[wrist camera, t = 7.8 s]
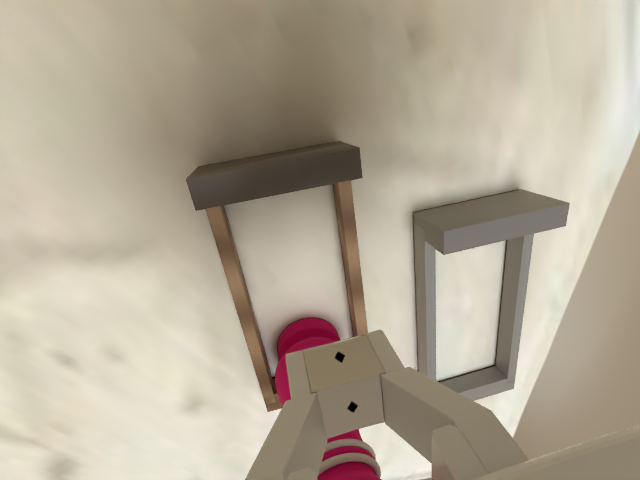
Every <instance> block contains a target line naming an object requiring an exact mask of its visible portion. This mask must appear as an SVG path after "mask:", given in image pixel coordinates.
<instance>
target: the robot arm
mask: <svg viewBox="0 0 640 480" xmlns="http://www.w3.org/2000/svg"><path fill="white" fill-rule="evenodd" d="M303 354H304V356H303ZM304 359H305V360H304ZM286 365H287V373H288V380H289V388H290V395H291V400H287V401H286V402H285V404H284V406H283V408H282V409H281V411H280V413H279V415H278V417H277V419H276V421H275V423H274V425H273V427H272V429H271V431H270V433H269V434H268V436H267V438H266V440H265V442H264V444H263V446H262V448H261V450H260V452H259V454H258V456H257V458H256V459H255V461H254V463H253V465H252V467H251V469H250V471H249V473H248V475H247V477H246V479H245V480H317V476H318V473H319V469H320V466H321V462H322V459H323V455H324V452H325V448H326V445H327V439H328V438H332V437H335V436H338V435H341V434H344V433H347V432H350V431H353V430H356V429H360V428H364V427H367V426H371V425H375V424H379V423H383V422H385V424H386V425H388V426H389V427H390V428H391V429H392V430H393V431H395V432H396V433H397V434H398V435H399V436H400V437H402V438H403V439H404V440H405V441H406V442H407V443H409V444H410V445H411V446H412V447H413V448H414V449H416V450H417V451H418V452H419V453H420V454H421V455H422V456H424V457H425V458H426V459H427V460H428V461H429V462H431V463H432V480H640V424H637V425H634V426H631V427H628V428H625V429H622V430H619V431H616V432H613V433H610V434H607V435H604V436H601V437H598V438H595V439H592V440H589V441H586V442H583V443H580V444H576V445H574V446H570V447H567V448H564V449H561V450H558V451H555V452H552V453H549V454H546V455H543V456H540V457H537V458H534V459H531V460H529V458H528V457H527V456H526V455H525V453H524V452H523V451H522V449H521V448H520V447H519V446H518V444H517V443H516V442H515V441H514V439H513V438H512V437H511V435H510V434H509V433H508V432H507V430H506V429H505V428H504V427H503V425H502V424H501V423H500V421H499V420H498V419H497V418H496V416H495V415H494V414H493V412H492V411H491V410H489V409H487V408H485V407H483V406H481V405H480V404H478V403H476V402H474V401H472V400H470V399H468V398H467V397H465V396H463V395H461V394H459V393H457V392H455V391H454V390H452V389H450V388H448V387H446V386H444V385H442V384H441V383H439V382H437V381H435V380H433V379H431V378H429V377H428V376H426V375H424V374H422V373H420V372H418V371H416V370H415V369H413V368H411V367H407V368H404V366H403V364H402V363H401V361H400V359H399V358H398V356H397V354H396V352H395V351H394V349H393V347H392V346H391V344H390V342H389V341H388V339H387V337H386V336H385V334H384V332H383V331H382V330H377V331H373V332H370V333H366V334H363V335H359V336H356V337H352V338H348V339H345V340H341V341H337V342H334V343H329V344H325V345H321V346H316V347H312V348H308V349H304V350H303V351H302V350H301V351H297V352H292V353H288V354H286Z"/></svg>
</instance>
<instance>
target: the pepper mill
mask: <svg viewBox="0 0 640 480" xmlns="http://www.w3.org/2000/svg"><path fill="white" fill-rule="evenodd" d="M337 341H340V338H339V336H338V333H337V331H336V329H335V328H334V327H333V326H332V325H331V324H330V323H328V322H327V321H325V320H322V319H317V318H307V319H302V320H299V321H296V322H295V323H293V324H291V325H290V326H288V327H287V328H286V329H285V330H284V331H283V333H282V334H281V336H280V337H279V340H278V344H277V352H278V360H279V363H278V365H277V368H276V372H275V384H276V389H277V394H278V397H279V399H280V401H281V403H282V405H283V406H284V404H285V402H286V401H287V400H291V395H290V388H289V380H288V373H287V365H286V354H288V353H292V352H297V351H301V350H302V351H303V350H304V349H308V348H312V347H316V346H321V345H325V344H329V343H334V342H337ZM303 356H304V354H303ZM304 360H305V359H304ZM380 476H381V471H380V467H379V465H378V463H377V462H376V457H375V453H374V451H373V449H372V448H371V447H370V446H369V445H368V444H367V443H365V442H363V441H362V439H361V436H360V433H359V429H356V430H353V431H350V432H347V433H344V434H341V435H338V436H335V437H332V438H328V439H327V445H326V448H325V452H324V455H323V459H322V462H321V466H320V469H319V473H318V476H317V480H381V479H380Z"/></svg>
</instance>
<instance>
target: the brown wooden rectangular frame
mask: <svg viewBox="0 0 640 480" xmlns="http://www.w3.org/2000/svg"><path fill="white" fill-rule="evenodd" d="M360 178H362V169H361V159H360V148H359V147H356V146H353V145H350V144H347V143H344V142H341V141H338V142H333V143H327V144H322V145H316V146H311V147H305V148H300V149H294V150H289V151H283V152H277V153H272V154H266V155H261V156H255V157H250V158H244V159H239V160H233V161H227V162H222V163H216V164H211V165H205V166H200V167H198V168H197V169H196V170H195V171H194V172H193V173H192V174H191V175H190V176H189V177H188V178H187V179H186V181H187V185H188V188H189V191H190V194H191V197H192V200H193V203H194V206H195V210H196V211H197V210H202V209H206V212H207V215H208V218H209V222H210V225H211V228H212V232H213V235H214V238H215V241H216V245H217V248H218V251H219V254H220V258H221V261H222V264H223V267H224V271H225V274H226V277H227V280H228V284H229V287H230V290H231V294H232V297H233V300H234V303H235V307H236V310H237V313H238V316H239V320H240V323H241V326H242V329H243V333H244V336H245V339H246V342H247V346H248V349H249V352H250V356H251V359H252V362H253V365H254V369H255V372H256V375H257V378H258V382H259V385H260V388H261V391H262V395H263V398H264V401H265V404H266V408H267V411H268V412H269V411H273V410H276V409H280V408H283V405H282V403H281V401H280V399H279V397H278V394H277V389H276V384H275V378H274V379H272V376H271V372H270V369H269V365H268V362H267V358H266V355H265V351H264V347H263V344H262V340H261V337H260V333H259V330H258V326H257V323H256V319H255V316H254V312H253V308H252V305H251V301H250V298H249V294H248V291H247V287H246V284H245V280H244V276H243V273H242V269H241V266H240V262H239V259H238V255H237V252H236V248H235V244H234V241H233V237H232V234H231V230H230V227H229V223H228V220H227V216H226V212H225V209H224V205H228V204H233V203H238V202H243V201H248V200H253V199H258V198H263V197H268V196H273V195H278V194H283V193H289V192H294V191H299V190H304V189H309V188H314V187H319V186H324V185H329V184H333V187H334V195H335V202H336V210H337V217H338V225H339V232H340V239H341V247H342V254H343V262H344V269H345V277H346V284H347V292H348V299H349V307H350V314H351V321H352V329H353V336H354V337H356V336H359V335H363V334H366V333H368V330H367V321H366V312H365V303H364V294H363V285H362V276H361V267H360V258H359V249H358V240H357V231H356V222H355V213H354V204H353V195H352V186H351V180H355V179H360Z"/></svg>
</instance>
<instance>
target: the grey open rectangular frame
mask: <svg viewBox="0 0 640 480" xmlns="http://www.w3.org/2000/svg"><path fill="white" fill-rule="evenodd" d="M569 204H570V203H568V202H564V201H561V200H557V199H554V198H550V197H547V196H543V195H540V194H536V193H533V192H529V191H525V190H522V189H521V190H516V191H512V192H507V193H502V194H498V195H493V196H489V197H484V198H479V199H475V200H470V201H465V202H461V203H456V204H451V205H447V206H442V207H438V208H433V209H428V210H424V211H419V212H414V213H413V215H414V246H415V276H416V306H417V336H418V367H419V372H420V373H422V374H424V375H426V376H428V377H429V378H431V379H433V380H435V381H436V275H435V249H437V250H438V251H439V252H441V253H442V254H443V255H445V254H449V253H454V252H458V251H462V250H466V249H470V248H475V247H479V246H483V245H487V244H492V243H496V242H500V241H504V240H507V251H506V261H505V272H504V282H503V293H502V303H501V314H500V324H499V335H498V345H497V356H496V366H494V367H490V368H487V369H484V370H480V371H477V372H473V373H470V374H466V375H463V376H459V377H456V378H453V379H449V380H446V381H442V382H439V383H441V384H442V385H444V386H446V387H448V388H450V389H452V390H454V391H455V392H457V393H459V394H461V395H463V396H465V397H467V398H468V399H470V400H472V401H474V400H478V399H481V398H484V397H488V396H491V395H494V394H498V393H501V392H504V391H507V390H511V389H514V382H515V375H516V367H517V359H518V351H519V344H520V336H521V328H522V321H523V313H524V305H525V298H526V290H527V282H528V274H529V267H530V259H531V251H532V244H533V236H534V233H538V232H542V231H547V230H551V229H555V228H559V227H563V226H566V221H567V215H568V209H569Z"/></svg>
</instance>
